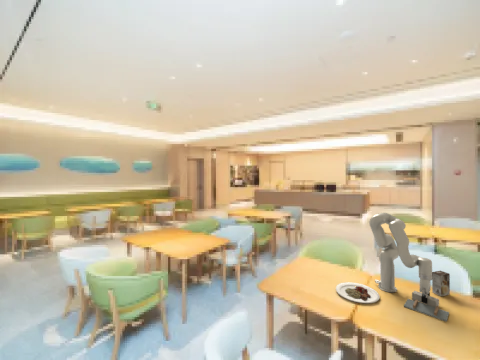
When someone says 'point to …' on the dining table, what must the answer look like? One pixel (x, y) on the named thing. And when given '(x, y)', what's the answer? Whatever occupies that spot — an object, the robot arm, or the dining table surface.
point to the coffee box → (441, 283)
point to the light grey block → (430, 300)
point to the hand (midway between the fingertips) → (425, 299)
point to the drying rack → (427, 309)
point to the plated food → (357, 292)
